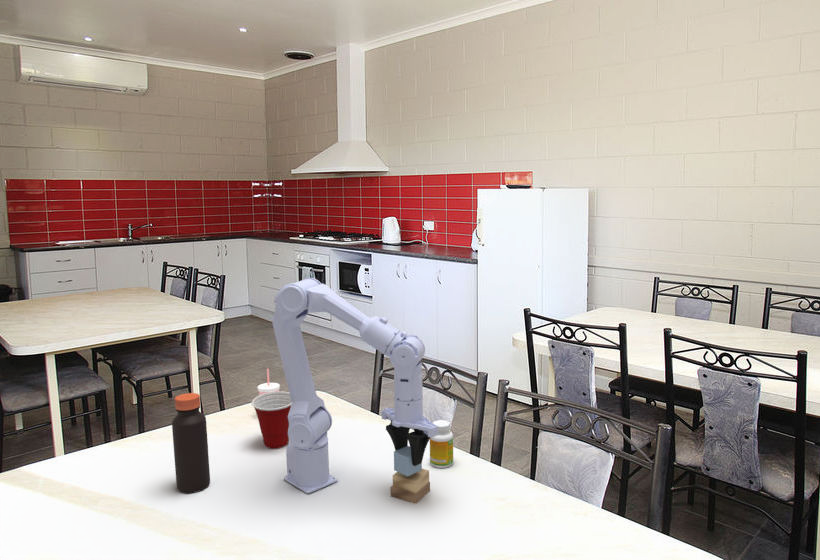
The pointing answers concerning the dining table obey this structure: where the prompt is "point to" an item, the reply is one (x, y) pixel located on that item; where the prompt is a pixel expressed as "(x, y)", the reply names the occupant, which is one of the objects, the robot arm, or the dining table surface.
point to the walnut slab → (409, 493)
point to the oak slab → (411, 481)
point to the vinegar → (190, 445)
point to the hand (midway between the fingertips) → (409, 460)
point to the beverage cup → (268, 386)
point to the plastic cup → (273, 417)
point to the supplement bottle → (442, 446)
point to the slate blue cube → (405, 462)
